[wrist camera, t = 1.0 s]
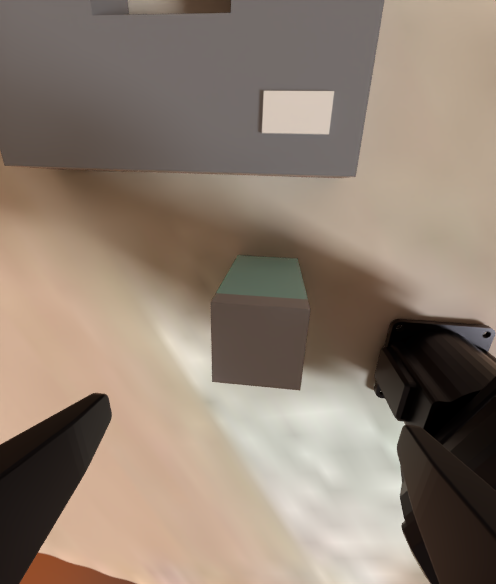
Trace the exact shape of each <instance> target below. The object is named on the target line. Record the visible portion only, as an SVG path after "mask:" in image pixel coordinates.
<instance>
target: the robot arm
mask: <svg viewBox="0 0 496 584" xmlns="http://www.w3.org/2000/svg"><path fill="white" fill-rule="evenodd" d="M398 325H402V326H401V327H400V328H399V329H396V327H397V326H398ZM484 332H486V334H484V335H483V333H484ZM494 336H495V331H494V330H493V329H492V328H490V327H489V326H486V325H475V324H461V323H448V322H434V321H420V320H407V319H396V320H393V321H392V322H391V324H390V327H389V331H388V335H387V339H386V343H385V346H384V347H383V348H382V349H381V352H380V356H379V360H378V364H377V368H376V372H375V379H376V383H375V387H374V391H375V393H376V395H377V396H378V397H380V398H385V399H386V401H387V403H388V405H389V407H390V409H391V411H392V413H393V415H394V417H395V418H396V419H397V420H398V421H404V423H405V425H404V426H403V428H402V431H401V434H400V437H399V441H398V444H397V453H398V457H399V461H400V465H401V466H400V467H401V476H402V487H401V493H400V500H401V505H402V510H403V515H404V519H405V521H404V522H403V523H402V530H403V534H404V536H405V538H406V541H407V543H408V545H409V547H410V550H411V552H412V554H413V556H414V558H415V559H416V561H417V563H418V565H419V566H420V568H421V570H422V572H423V573H424V575H425V577H426V578H427V579H428V581H429V582H430V584H496V358H495V357H494V356H492V355H491V354H490V353H489V352H488V351H489V348H490V346H491V343H492V341H493V339H494ZM380 391H382V392H380ZM111 417H112V412H111V408H110V403H109V398H108V396H107V395H106V394H101V393H93V394H91V395H89V396H87V397H85V398H84V399H82V400H80V401H78V402H76V403H75V404H73V405H71V406H69V407H67V408H66V409H64V410H62V411H60V412H58V413H57V414H55V415H53V416H51V417H49V418H48V419H46V420H44V421H42V422H40V423H38V424H37V425H35V426H33V427H31V428H29V429H28V430H26V431H24V432H22V433H20V434H19V435H17V436H15V437H13V438H11V439H10V440H8V441H6V442H4V443H2V444H1V445H0V584H19V583H20V582H21V580H22V578H23V576H24V575H25V573H26V571H27V570H28V568H29V566H30V565H31V563H32V561H33V559H34V558H35V556H36V555H37V553H38V551H39V550H40V548H41V546H42V545H43V543H44V541H45V540H46V538H47V536H48V535H49V533H50V531H51V530H52V528H53V526H54V524H55V523H56V521H57V519H58V518H59V516H60V514H61V513H62V511H63V509H64V508H65V506H66V504H67V503H68V501H69V499H70V498H71V496H72V494H73V493H74V491H75V489H76V488H77V486H78V484H79V483H80V481H81V479H82V477H83V476H84V474H85V472H86V470H87V468H88V466H89V465H90V463H91V461H92V458H93V456H94V454H95V452H96V450H97V448H98V446H99V444H100V442H101V440H102V438H103V436H104V434H105V431H106V429H107V427H108V425H109V423H110V421H111Z"/></svg>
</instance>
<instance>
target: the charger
mask: <svg viewBox="0 0 496 584" xmlns="http://www.w3.org/2000/svg"><path fill="white" fill-rule="evenodd" d="M309 317H310V306H309V302H308V298H307V294H306V290H305V286H304V282H303V278H302V274H301V270H300V266H299V262H298V259H296V258H279V257H261V256H244V255H238V256H237V258H236V259H235V261H234V263H233V264H232V266H231V268H230V270H229V271H228V273H227V275H226V277H225V278H224V280H223V282H222V284H221V285H220V287H219V289H218V290H217V292H216V294H215V296H214V297H213V299H212V301H211V341H212V382H220V383H230V384H241V385H251V386H261V387H271V388H282V389H292V390H300V387H301V379H302V372H303V364H304V356H305V348H306V340H307V332H308V325H309Z"/></svg>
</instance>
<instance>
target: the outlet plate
mask: <svg viewBox="0 0 496 584" xmlns="http://www.w3.org/2000/svg"><path fill="white" fill-rule="evenodd" d="M383 5H384V0H231V13H196V14H142V15H129V11H128V1H127V0H0V150H1V154H2V158H3V161H4V165H5V166H19V167H33V168H48V169H72V170H103V171H134V172H165V173H197V174H228V175H259V176H290V177H322V178H346V177H356V171H357V165H358V159H359V153H360V147H361V140H362V134H363V128H364V122H365V116H366V110H367V104H368V97H369V91H370V85H371V79H372V73H373V67H374V61H375V54H376V48H377V42H378V36H379V30H380V24H381V18H382V12H383Z"/></svg>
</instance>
